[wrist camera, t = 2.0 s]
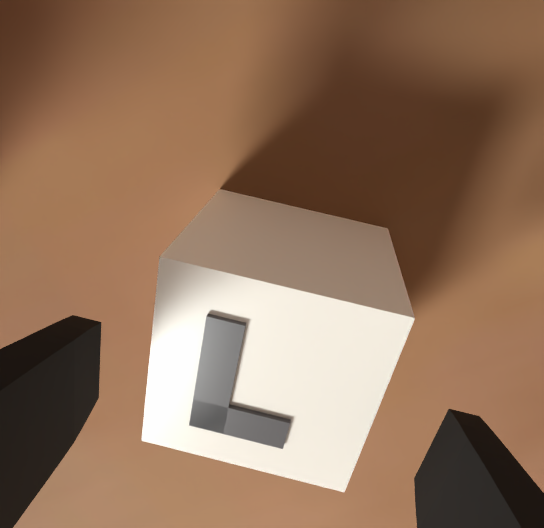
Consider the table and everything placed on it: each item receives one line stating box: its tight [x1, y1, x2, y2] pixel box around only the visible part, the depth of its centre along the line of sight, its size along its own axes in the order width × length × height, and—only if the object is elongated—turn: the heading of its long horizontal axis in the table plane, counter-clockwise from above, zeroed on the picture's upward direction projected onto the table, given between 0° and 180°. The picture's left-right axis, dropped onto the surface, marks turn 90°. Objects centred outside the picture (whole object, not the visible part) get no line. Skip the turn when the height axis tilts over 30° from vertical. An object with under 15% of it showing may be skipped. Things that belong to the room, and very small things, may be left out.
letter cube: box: [142, 189, 415, 492], centre depth 12 cm, size 5×5×5 cm
